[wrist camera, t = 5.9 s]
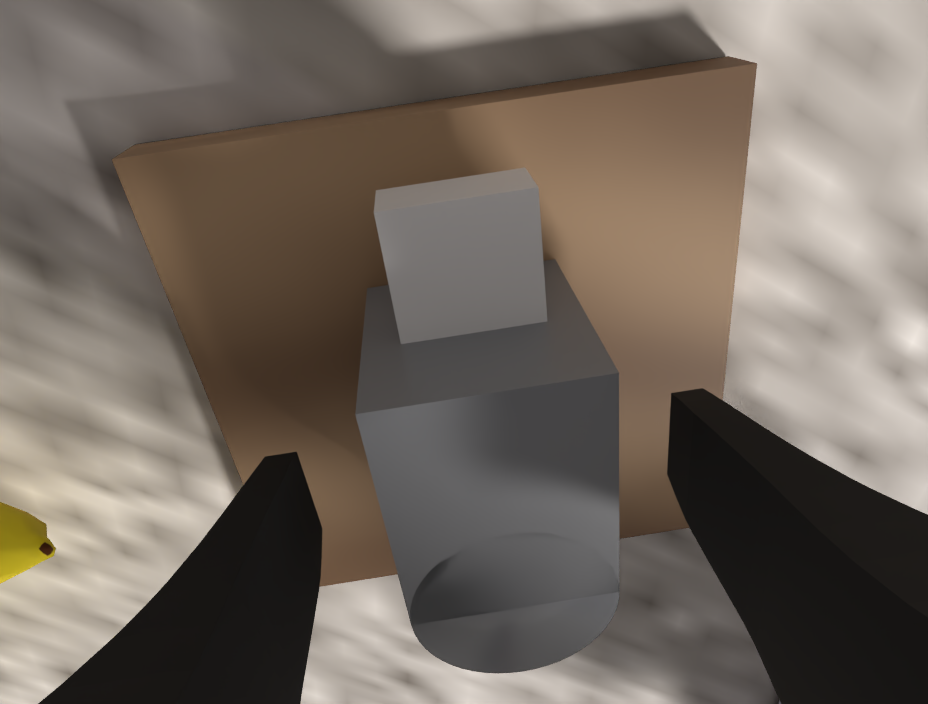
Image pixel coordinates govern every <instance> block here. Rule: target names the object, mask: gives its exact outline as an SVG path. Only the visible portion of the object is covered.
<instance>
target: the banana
mask: <svg viewBox="0 0 928 704" xmlns="http://www.w3.org/2000/svg"><path fill="white" fill-rule="evenodd" d="M55 549H56V548H55V547H54V545H53V544H52V542H51V541H50V539H48V538H47V528H46V524H45V523H43V522H42V521H40V520H39V519H37V518H35V517H34V516H32V515H31V514H29V513H27V512H25V511H22V510H20V509H17V508H14V507H12V506H9V505H7V504H4V503H1V502H0V583H2V582H4V581H6V580H8V579H10V578H12V577H14V576H16V575H18V574H20V573H22V572H24V571H26V570H28V569H30V568H31V567H33V566H35V565H37V564H38V563H40V562H42V561H44V560H46V559H48V558H50V557H53V556H54V553H55Z"/></svg>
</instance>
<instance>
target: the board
mask: <svg viewBox="0 0 928 704" xmlns="http://www.w3.org/2000/svg"><path fill="white" fill-rule="evenodd" d="M756 68H757V63H754V62H749V61H745V60H741V59H737V58H733V57H729V56H727V57H721V58H714V59H707V60H700V61H694V62H687V63H680V64H674V65H667V66H660V67H653V68H647V69H640V70H633V71H627V72H620V73H613V74H606V75H600V76H593V77H586V78H579V79H573V80H566V81H559V82H553V83H546V84H539V85H532V86H526V87H519V88H512V89H506V90H499V91H492V92H485V93H479V94H472V95H465V96H459V97H452V98H445V99H438V100H432V101H425V102H418V103H411V104H405V105H398V106H391V107H385V108H378V109H371V110H364V111H358V112H351V113H344V114H338V115H331V116H324V117H317V118H311V119H304V120H297V121H291V122H284V123H277V124H270V125H264V126H257V127H250V128H244V129H237V130H230V131H223V132H217V133H210V134H203V135H196V136H190V137H183V138H176V139H170V140H163V141H156V142H149V143H143V144H136V145H134V146H132V147H130V148H129V149H127V150H126V151H124V152H123V153H121V154H119V155H118V156H116V157H115V158H113V159H112V162H113V164H114V167H115V169H116V171H117V174H118V176H119V179H120V181H121V184H122V186H123V189H124V191H125V194H126V196H127V199H128V201H129V204H130V206H131V209H132V211H133V213H134V216H135V218H136V221H137V223H138V226H139V228H140V231H141V233H142V236H143V238H144V241H145V243H146V246H147V248H148V251H149V253H150V255H151V258H152V260H153V263H154V265H155V268H156V270H157V273H158V275H159V278H160V280H161V283H162V285H163V288H164V290H165V293H166V295H167V297H168V300H169V302H170V305H171V307H172V310H173V312H174V315H175V317H176V320H177V322H178V325H179V327H180V330H181V332H182V335H183V337H184V339H185V342H186V344H187V347H188V349H189V352H190V354H191V357H192V359H193V362H194V364H195V367H196V369H197V372H198V374H199V377H200V379H201V381H202V384H203V386H204V389H205V391H206V394H207V396H208V399H209V401H210V404H211V406H212V409H213V411H214V414H215V416H216V419H217V421H218V423H219V426H220V428H221V431H222V433H223V436H224V438H225V441H226V443H227V446H228V448H229V451H230V453H231V456H232V458H233V460H234V463H235V465H236V468H237V470H238V473H239V475H240V478H241V480H242V483H243V485H244V484H245V482H246V481H247V480H248V478H249V477H250V476H251V474H252V473H253V471H254V470H255V469H256V468H257V466H258V465H259V464H260V462H261V461H262V460H263V458H264V457H265V456H272V455H278V454H284V453H291V452H297V454H298V457H299V460H300V463H301V466H302V469H303V472H304V475H305V478H306V481H307V484H308V487H309V490H310V493H311V496H312V499H313V502H314V505H315V508H316V511H317V514H318V517H319V520H320V523H321V526H322V561H321V579H320V586H326V585H333V584H339V583H345V582H351V581H358V580H364V579H370V578H377V577H383V576H389V575H395V574H398V573H397V569H396V565H395V562H394V558H393V554H392V550H391V547H390V543H389V539H388V535H387V532H386V528H385V524H384V520H383V517H382V513H381V509H380V505H379V502H378V498H377V494H376V490H375V487H374V483H373V479H372V475H371V472H370V468H369V464H368V460H367V457H366V453H365V449H364V445H363V442H362V438H361V434H360V430H359V426H358V423H357V419H356V415H355V412H356V401H357V391H358V380H359V370H360V359H361V349H362V338H363V327H364V317H365V306H366V296H367V288H372V287H378V286H385V285H389V284H388V279H387V274H386V269H385V265H384V260H383V255H382V250H381V245H380V240H379V235H378V231H377V226H376V221H375V216H374V205H375V194H376V190H381V189H388V188H394V187H401V186H407V185H414V184H420V183H427V182H433V181H440V180H447V179H453V178H460V177H466V176H473V175H479V174H486V173H493V172H499V171H506V170H512V169H519V168H526V170H527V171H528V172H529V174H530V175H531V177H532V178H533V180H534V181H535V183H536V184H537V186H538V188H539V203H540V218H541V233H542V248H543V261H546V260H553V259H555V260H556V261H557V263H558V265H559V267H560V269H561V270H562V272H563V274H564V276H565V277H566V279H567V281H568V283H569V285H570V286H571V288H572V290H573V292H574V293H575V295H576V297H577V299H578V301H579V302H580V304H581V306H582V308H583V310H584V311H585V313H586V315H587V317H588V318H589V320H590V322H591V324H592V326H593V327H594V329H595V331H596V333H597V334H598V336H599V338H600V340H601V342H602V343H603V345H604V347H605V349H606V350H607V352H608V354H609V356H610V358H611V359H612V361H613V363H614V365H615V367H616V368H617V370H618V372H619V539H621V538H627V537H634V536H640V535H646V534H652V533H659V532H665V531H671V530H677V529H684V528H690V527H689V525H688V524H687V522H686V520H685V517H684V515H683V513H682V510H681V508H680V506H679V503H678V501H677V498H676V496H675V493H674V491H673V488H672V486H671V483H670V481H669V478H668V475H667V465H668V445H669V426H670V407H671V393H675V392H681V391H687V390H694V389H700V388H703V389H705V390H707V391H708V392H710V393H712V394H713V395H715V396H716V397H718V398H719V399H721V400H722V399H723V390H724V380H725V370H726V361H727V351H728V341H729V331H730V322H731V312H732V302H733V292H734V283H735V273H736V263H737V253H738V244H739V234H740V224H741V214H742V205H743V195H744V185H745V175H746V166H747V156H748V146H749V136H750V127H751V117H752V107H753V97H754V88H755V78H756ZM320 586H319V587H320Z"/></svg>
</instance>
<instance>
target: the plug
mask: <svg viewBox="0 0 928 704" xmlns="http://www.w3.org/2000/svg"><path fill="white" fill-rule="evenodd" d="M374 216H375V221H376V226H377V231H378V235H379V240H380V245H381V250H382V255H383V260H384V265H385V269H386V274H387V279H388V284H389V285H385V286H378V287H372V288H367V296H366V306H365V317H364V327H363V338H362V349H361V359H360V370H359V380H358V391H357V401H356V412H355V415H356V419H357V423H358V426H359V430H360V434H361V438H362V442H363V445H364V449H365V453H366V457H367V460H368V464H369V468H370V472H371V475H372V479H373V483H374V487H375V490H376V494H377V498H378V502H379V505H380V509H381V513H382V517H383V520H384V524H385V528H386V532H387V535H388V539H389V543H390V547H391V550H392V554H393V558H394V562H395V565H396V569H397V573H398V577H399V580H400V584H401V588H402V592H403V595H404V599H405V603H406V607H407V610H408V614H409V618H410V622H411V626H412V628H413V631H414V633H415V635H416V637H417V639H418V640H419V642H420V643H421V644H422V645H423V646H424V647H425V649H426V650H428V651H429V652H430V653H431V654H433V655H434V656H435V657H437V658H439V659H440V660H442V661H444V662H446V663H448V664H451V665H453V666H456V667H459V668H462V669H466V670H471V671H476V672H484V673H513V672H521V671H527V670H532V669H537V668H540V667H544V666H547V665H550V664H553V663H555V662H558V661H561V660H563V659H565V658H567V657H569V656H571V655H573V654H575V653H576V652H578V651H580V650H581V649H583V648H584V647H586V646H587V645H588V644H590V643H591V642H592V641H593V640H594V639H595V638H597V637H598V636H599V635H600V634H601V632H602V631H603V630H604V629H605V628H606V627H607V625H608V624H609V622H610V621H611V619H612V617H613V615H614V613H615V611H616V608H617V605H618V601H619V372H618V370H617V368H616V367H615V365H614V363H613V361H612V359H611V358H610V356H609V354H608V352H607V350H606V349H605V347H604V345H603V343H602V342H601V340H600V338H599V336H598V334H597V333H596V331H595V329H594V327H593V326H592V324H591V322H590V320H589V318H588V317H587V315H586V313H585V311H584V310H583V308H582V306H581V304H580V302H579V301H578V299H577V297H576V295H575V293H574V292H573V290H572V288H571V286H570V285H569V283H568V281H567V279H566V277H565V276H564V274H563V272H562V270H561V269H560V267H559V265H558V263H557V261H556V260H555V259H553V260H546V261H543V248H542V233H541V218H540V203H539V188H538V186H537V184H536V183H535V181H534V180H533V178H532V177H531V175H530V174H529V172H528V171H527V170H526V168H519V169H512V170H506V171H499V172H493V173H486V174H479V175H473V176H466V177H460V178H453V179H447V180H440V181H433V182H427V183H420V184H414V185H407V186H401V187H394V188H388V189H381V190H376V194H375V205H374Z"/></svg>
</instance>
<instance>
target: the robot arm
mask: <svg viewBox="0 0 928 704" xmlns="http://www.w3.org/2000/svg"><path fill="white" fill-rule="evenodd" d="M667 475H668V478H669V481H670V483H671V486H672V488H673V491H674V493H675V496H676V498H677V501H678V503H679V506H680V508H681V510H682V513H683V515H684V517H685V520H686V522H687V524H688V525H689V527H690V529H691V531H692V533H693V534H694V536H695V538H696V540H697V542H698V543H699V545H700V547H701V549H702V551H703V552H704V554H705V556H706V558H707V559H708V561H709V563H710V565H711V566H712V568H713V570H714V572H715V573H716V575H717V577H718V579H719V580H720V582H721V584H722V586H723V587H724V589H725V591H726V593H727V594H728V596H729V598H730V600H731V601H732V603H733V605H734V607H735V608H736V610H737V612H738V614H739V615H740V617H741V619H742V621H743V622H744V624H745V626H746V628H747V630H748V632H749V634H750V636H751V638H752V640H753V642H754V644H755V646H756V648H757V650H758V652H759V655H760V657H761V659H762V661H763V664H764V666H765V668H766V670H767V673H768V675H769V677H770V679H771V682H772V684H773V686H774V688H775V691H776V693H777V695H778V697H779V704H928V515H927V514H925V513H922V512H920V511H918V510H915V509H913V508H911V507H909V506H907V505H905V504H902V503H900V502H898V501H896V500H894V499H892V498H890V497H888V496H885V495H883V494H881V493H879V492H877V491H875V490H873V489H871V488H869V487H867V486H865V485H863V484H861V483H859V482H857V481H855V480H853V479H851V478H849V477H847V476H846V475H844V474H842V473H840V472H838V471H836V470H835V469H833V468H831V467H829V466H827V465H826V464H824V463H822V462H820V461H818V460H817V459H815V458H813V457H811V456H810V455H808V454H806V453H805V452H803V451H801V450H800V449H798V448H796V447H795V446H793V445H791V444H790V443H788V442H786V441H785V440H783V439H782V438H780V437H778V436H777V435H775V434H773V433H772V432H770V431H769V430H767V429H766V428H764V427H762V426H761V425H759V424H758V423H756V422H755V421H753V420H752V419H750V418H749V417H747V416H746V415H744V414H742V413H741V412H739V411H738V410H736V409H735V408H733V407H732V406H730V405H729V404H727V403H726V402H724V401H723V400H721V399H719V398H718V397H716V396H715V395H713V394H712V393H710V392H708V391H707V390H705V389H703V388H700V389H694V390H687V391H681V392H675V393H671V407H670V426H669V445H668V465H667ZM321 561H322V526H321V523H320V520H319V517H318V514H317V511H316V508H315V505H314V502H313V499H312V496H311V493H310V490H309V487H308V484H307V481H306V478H305V475H304V472H303V469H302V466H301V463H300V460H299V457H298V454H297V452H291V453H284V454H278V455H272V456H265V457H264V458H263V460H262V461H261V462H260V464H259V465H258V466H257V468H256V469H255V470H254V471H253V473H252V474H251V476H250V477H249V478H248V480H247V481H246V482H245V484H244V485H243V487H242V488H241V489H240V491H239V492H238V493H237V495H236V496H235V497H234V499H233V500H232V502H231V503H230V504H229V506H228V507H227V508H226V510H225V511H224V512H223V514H222V515H221V516H220V518H219V519H218V520H217V522H216V523H215V524H214V525H213V527H212V528H211V529H210V531H209V532H208V533H207V535H206V536H205V537H204V538H203V540H202V541H201V542H200V544H199V545H198V546H197V547H196V548H195V550H194V551H193V552H192V553H191V554H190V556H189V557H188V558H187V559H186V560H185V562H184V563H183V564H182V565H181V566H180V568H179V569H178V570H177V571H176V572H175V573H174V575H173V576H172V577H171V578H170V579H169V581H168V582H167V583H166V584H165V585H164V586H163V587H162V588H161V590H160V591H159V592H158V593H157V594H156V595H155V596H154V597H153V598H152V599H151V600H150V601H149V602H148V603H147V605H146V606H145V607H144V608H143V609H142V610H141V611H140V612H139V613H138V614H137V615H136V616H135V617H134V618H133V619H132V620H131V621H130V622H129V623H128V624H127V625H126V626H125V627H124V628H123V629H122V630H121V631H120V632H119V633H118V634H117V635H116V636H115V637H114V638H113V639H111V640H110V641H109V642H108V643H107V644H106V645H105V646H104V647H103V648H102V649H100V650H99V651H98V652H97V653H96V654H95V655H94V656H93V657H92V658H90V659H89V660H88V661H87V662H86V663H85V664H84V665H83V666H82V667H80V668H79V669H78V670H77V671H76V672H75V673H74V674H73V675H72V676H70V677H69V678H68V679H67V680H66V681H65V682H64V683H63V684H61V685H60V686H59V687H58V688H57V689H56V690H54V691H53V692H52V693H51V694H49V695H48V696H47V697H46V698H45V699H43V700H42V701H41V702H40V703H39V704H300V701H301V694H302V688H303V682H304V676H305V670H306V664H307V658H308V652H309V646H310V640H311V634H312V629H313V623H314V617H315V611H316V604H317V598H318V592H319V586H320V579H321Z"/></svg>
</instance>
